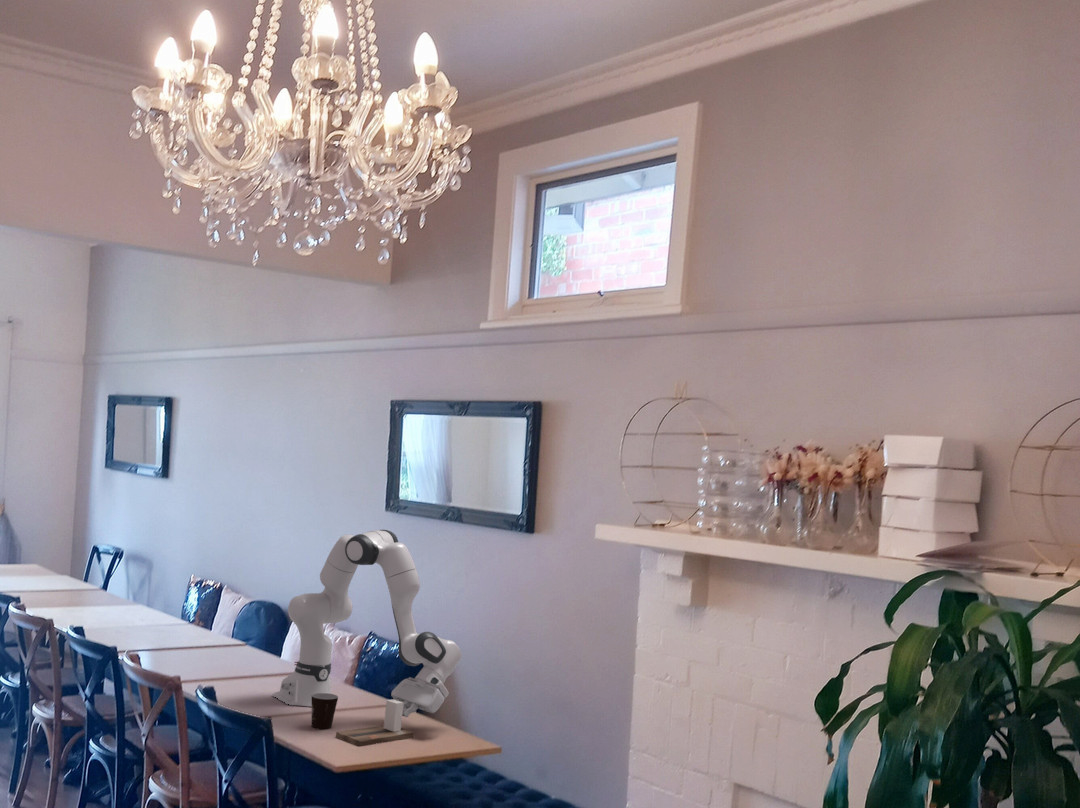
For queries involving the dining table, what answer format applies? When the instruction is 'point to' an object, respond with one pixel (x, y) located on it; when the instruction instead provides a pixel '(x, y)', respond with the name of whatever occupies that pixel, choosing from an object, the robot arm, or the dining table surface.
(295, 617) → the robot arm
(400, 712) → the switch tab
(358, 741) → the switch board
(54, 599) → the dining table surface
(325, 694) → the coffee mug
